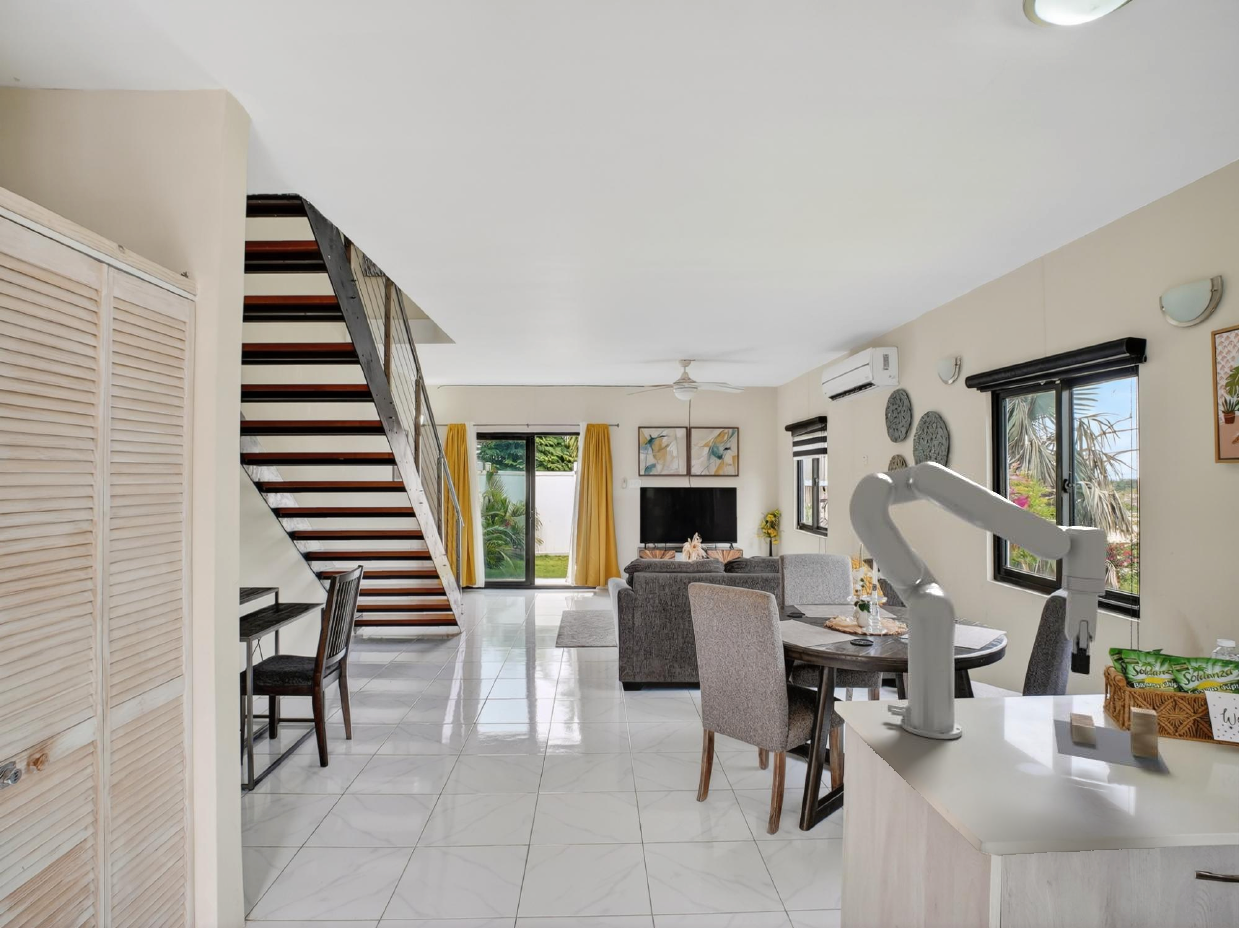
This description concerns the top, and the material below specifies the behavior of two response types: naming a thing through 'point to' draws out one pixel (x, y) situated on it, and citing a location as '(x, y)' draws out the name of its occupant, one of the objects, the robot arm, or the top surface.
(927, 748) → the top surface
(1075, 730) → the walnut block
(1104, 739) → the rubber mat
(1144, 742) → the oak block
